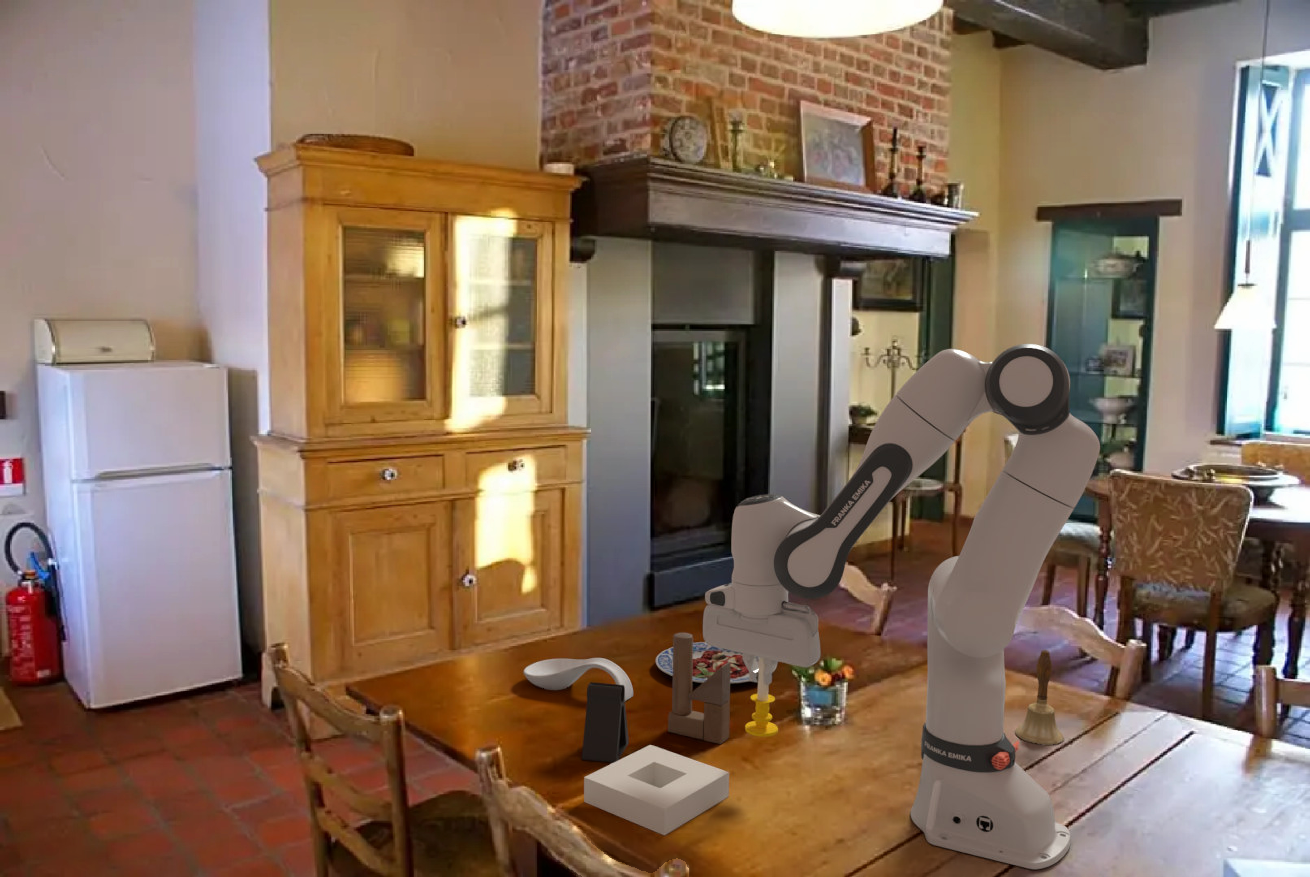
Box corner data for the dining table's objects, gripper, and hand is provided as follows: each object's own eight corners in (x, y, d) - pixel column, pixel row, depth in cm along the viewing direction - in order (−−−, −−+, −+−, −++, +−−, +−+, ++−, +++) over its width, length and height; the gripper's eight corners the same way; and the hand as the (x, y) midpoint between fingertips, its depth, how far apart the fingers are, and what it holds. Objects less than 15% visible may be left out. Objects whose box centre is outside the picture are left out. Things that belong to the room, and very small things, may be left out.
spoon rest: (512, 689, 208) (512, 654, 207) (545, 671, 218) (545, 639, 217) (613, 711, 197) (613, 675, 196) (643, 691, 207) (643, 657, 206)
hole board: (728, 796, 162) (729, 772, 161) (664, 835, 150) (664, 809, 149) (650, 767, 172) (650, 744, 171) (584, 802, 160) (584, 777, 159)
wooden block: (721, 745, 181) (722, 646, 179) (667, 732, 186) (668, 636, 184) (729, 738, 184) (731, 640, 182) (677, 725, 190) (678, 630, 187)
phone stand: (615, 764, 173) (615, 695, 172) (581, 760, 174) (581, 692, 173) (629, 742, 182) (629, 677, 180) (596, 739, 183) (596, 674, 182)
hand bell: (1071, 736, 187) (1076, 650, 185) (1052, 749, 181) (1058, 661, 179) (1026, 723, 192) (1031, 640, 190) (1007, 736, 186) (1011, 650, 184)
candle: (738, 730, 164) (742, 635, 162) (756, 720, 168) (760, 628, 166) (766, 740, 160) (770, 643, 158) (784, 730, 164) (788, 635, 162)
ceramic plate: (698, 644, 238) (698, 631, 237) (798, 667, 223) (798, 653, 222) (631, 674, 217) (631, 661, 217) (736, 702, 202) (736, 687, 202)
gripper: (828, 603, 158) (828, 690, 159) (719, 583, 171) (720, 664, 172) (806, 612, 153) (806, 702, 155) (696, 591, 166) (697, 674, 167)
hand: (760, 682), depth 164 cm, fingers closed on candle
